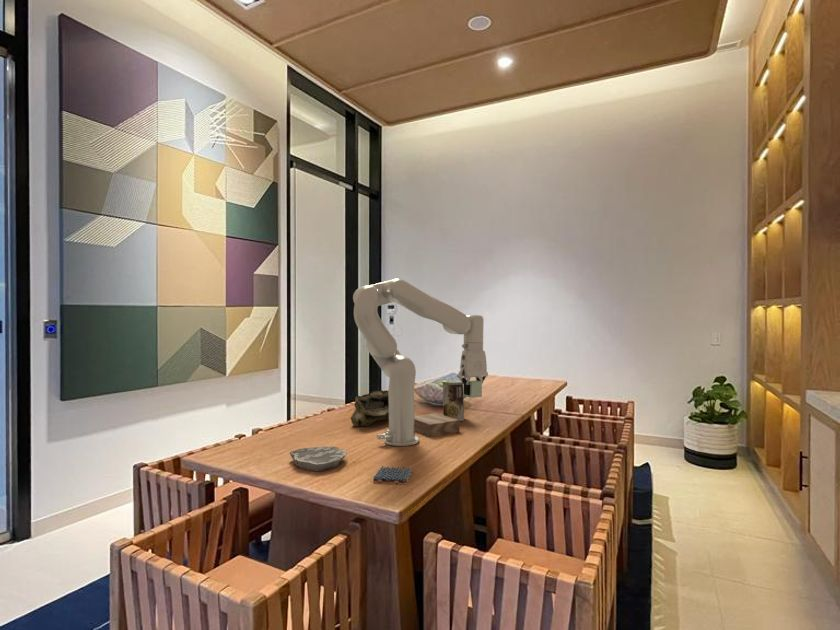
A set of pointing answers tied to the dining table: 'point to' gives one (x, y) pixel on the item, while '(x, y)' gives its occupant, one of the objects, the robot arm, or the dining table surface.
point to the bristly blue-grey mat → (393, 475)
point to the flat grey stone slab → (318, 457)
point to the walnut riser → (435, 424)
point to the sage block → (475, 389)
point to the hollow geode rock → (370, 408)
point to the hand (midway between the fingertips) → (472, 393)
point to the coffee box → (453, 400)
